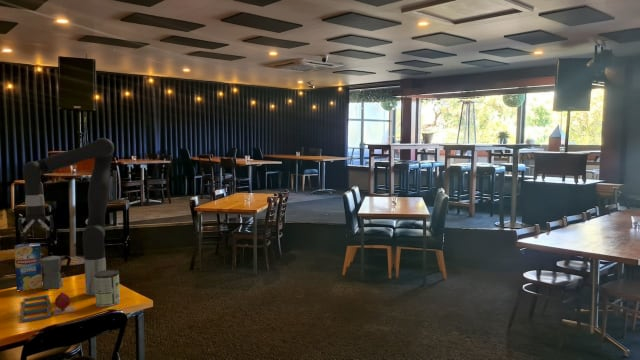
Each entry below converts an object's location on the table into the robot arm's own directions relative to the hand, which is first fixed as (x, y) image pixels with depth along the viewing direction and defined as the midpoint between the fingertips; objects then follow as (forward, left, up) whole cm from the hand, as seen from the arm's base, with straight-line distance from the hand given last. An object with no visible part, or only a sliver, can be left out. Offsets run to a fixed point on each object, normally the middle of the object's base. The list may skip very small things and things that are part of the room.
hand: (36, 239), depth 222 cm
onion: (-18, +21, -28) cm, 39 cm away
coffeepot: (0, -18, -28) cm, 34 cm away
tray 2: (-5, +16, -28) cm, 33 cm away
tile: (-18, +21, -28) cm, 39 cm away
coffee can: (-34, +13, -28) cm, 46 cm away
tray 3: (-9, +26, -28) cm, 39 cm away
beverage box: (+12, -18, -28) cm, 36 cm away
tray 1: (-1, +6, -28) cm, 29 cm away
